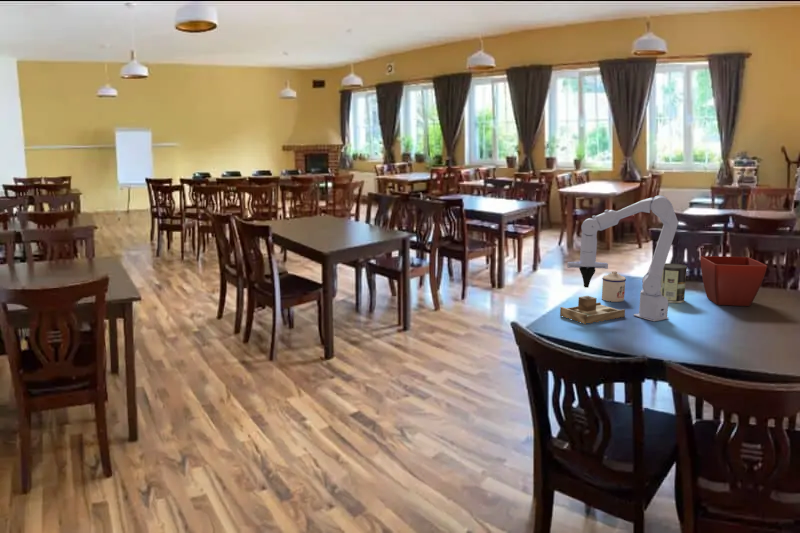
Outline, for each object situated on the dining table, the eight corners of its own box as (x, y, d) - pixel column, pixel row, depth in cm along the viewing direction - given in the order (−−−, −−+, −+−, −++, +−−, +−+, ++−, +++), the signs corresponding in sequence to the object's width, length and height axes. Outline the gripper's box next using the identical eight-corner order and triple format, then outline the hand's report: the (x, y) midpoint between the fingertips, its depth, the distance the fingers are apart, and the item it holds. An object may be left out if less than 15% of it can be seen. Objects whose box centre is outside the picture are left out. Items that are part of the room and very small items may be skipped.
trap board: (624, 316, 256) (625, 307, 255) (584, 324, 246) (585, 315, 245) (599, 309, 266) (599, 300, 265) (560, 316, 256) (560, 307, 255)
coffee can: (678, 296, 285) (681, 263, 282) (688, 303, 275) (691, 268, 272) (653, 296, 285) (655, 263, 283) (662, 303, 275) (664, 268, 272)
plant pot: (744, 296, 285) (748, 256, 282) (763, 308, 267) (768, 265, 263) (696, 295, 287) (699, 255, 284) (711, 307, 268) (715, 264, 265)
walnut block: (595, 310, 257) (596, 298, 256) (586, 311, 255) (587, 299, 254) (586, 307, 261) (587, 295, 260) (578, 308, 259) (578, 297, 258)
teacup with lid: (620, 303, 275) (622, 274, 272) (598, 300, 280) (599, 271, 277) (629, 297, 285) (631, 269, 282) (607, 294, 290) (608, 266, 287)
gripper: (606, 249, 261) (603, 285, 264) (566, 248, 262) (564, 284, 265) (610, 253, 254) (607, 289, 257) (569, 252, 255) (567, 288, 258)
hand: (586, 286), depth 260 cm, fingers closed
